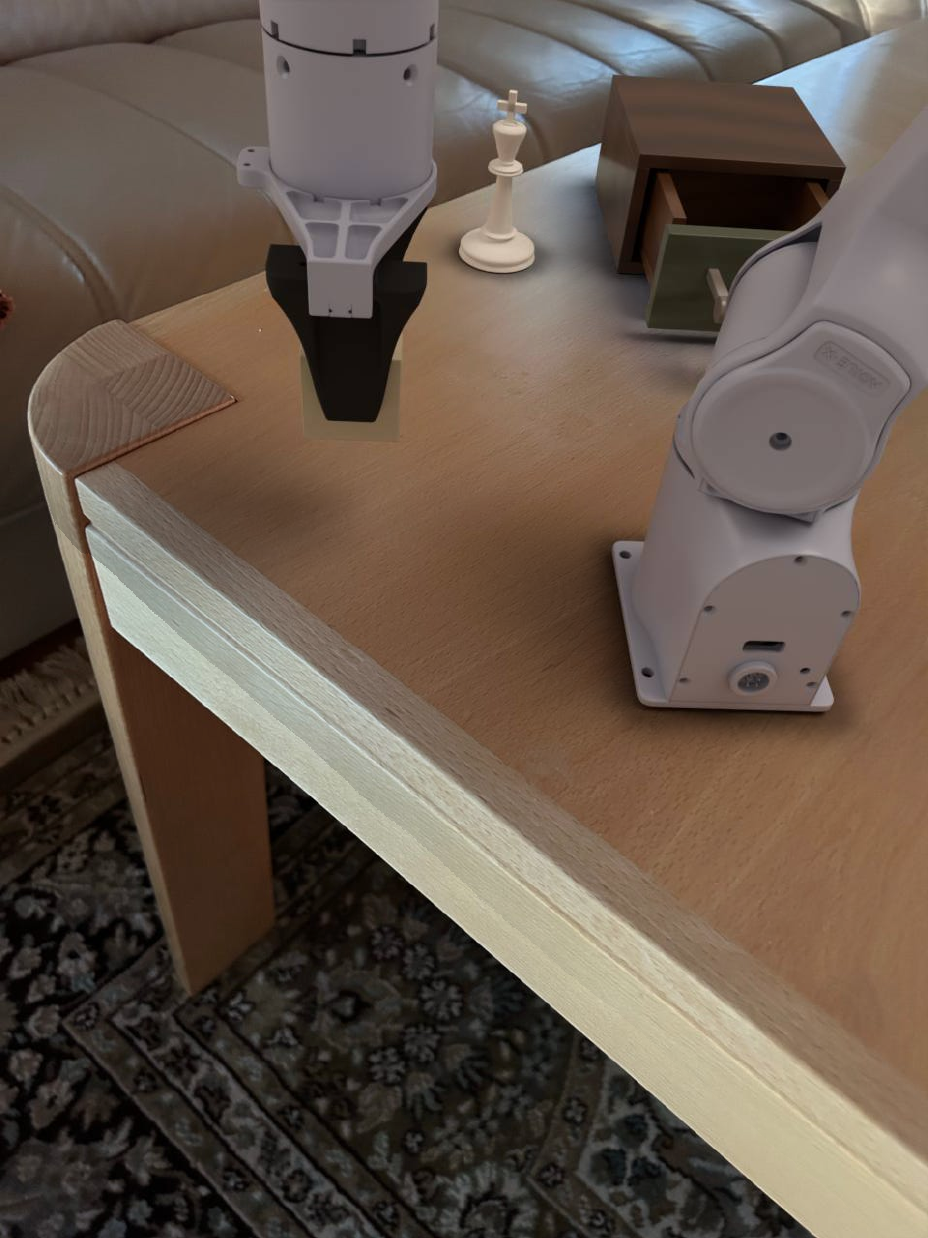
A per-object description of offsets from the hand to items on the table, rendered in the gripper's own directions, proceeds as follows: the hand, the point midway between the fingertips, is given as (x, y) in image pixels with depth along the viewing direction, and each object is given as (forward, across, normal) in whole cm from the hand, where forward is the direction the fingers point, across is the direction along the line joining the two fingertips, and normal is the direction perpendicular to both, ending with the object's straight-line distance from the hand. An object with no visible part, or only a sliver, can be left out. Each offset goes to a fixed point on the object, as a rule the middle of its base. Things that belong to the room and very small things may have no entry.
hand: (354, 384), depth 43 cm
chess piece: (+7, -26, +8) cm, 28 cm away
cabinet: (+7, -31, +22) cm, 39 cm away
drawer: (+6, -20, +22) cm, 30 cm away
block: (+1, 0, 0) cm, 1 cm away
